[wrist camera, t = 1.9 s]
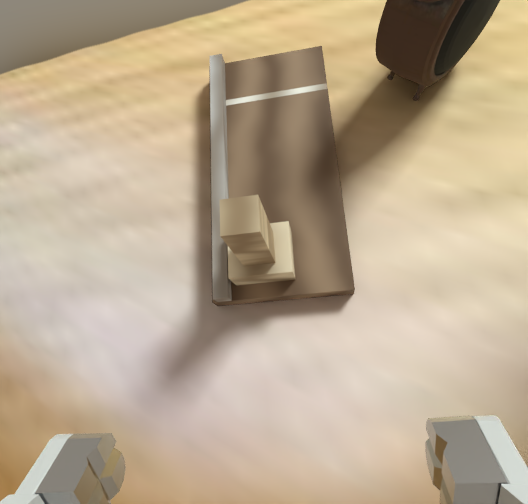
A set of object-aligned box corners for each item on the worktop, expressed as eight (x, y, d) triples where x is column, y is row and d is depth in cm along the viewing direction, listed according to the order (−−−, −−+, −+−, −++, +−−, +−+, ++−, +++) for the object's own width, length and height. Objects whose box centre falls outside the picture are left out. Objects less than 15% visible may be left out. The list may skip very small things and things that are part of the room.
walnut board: (322, 59, 48) (321, 35, 45) (353, 293, 38) (355, 285, 35) (214, 78, 50) (205, 56, 46) (217, 305, 40) (207, 299, 37)
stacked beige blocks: (291, 232, 39) (276, 180, 29) (295, 279, 37) (281, 242, 27) (234, 239, 40) (200, 190, 30) (236, 285, 38) (200, 251, 28)
